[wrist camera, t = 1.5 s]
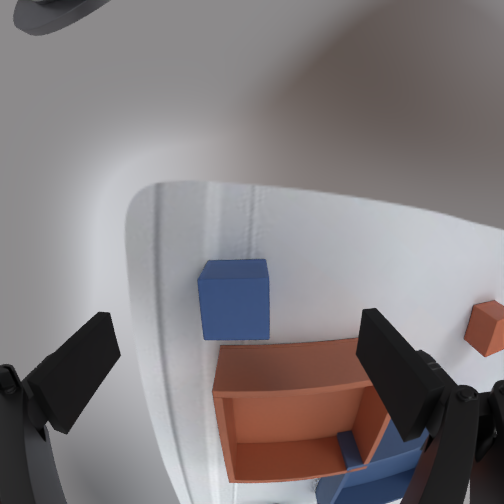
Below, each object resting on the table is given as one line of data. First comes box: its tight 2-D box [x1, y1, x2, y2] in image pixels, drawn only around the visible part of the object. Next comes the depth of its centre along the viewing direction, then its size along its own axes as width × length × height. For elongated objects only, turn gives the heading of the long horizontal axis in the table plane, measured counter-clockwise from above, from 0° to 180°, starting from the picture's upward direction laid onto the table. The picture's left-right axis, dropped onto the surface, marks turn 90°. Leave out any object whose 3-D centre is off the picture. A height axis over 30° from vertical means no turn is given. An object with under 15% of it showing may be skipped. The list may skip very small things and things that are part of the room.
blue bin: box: [315, 419, 429, 504], centre depth 23 cm, size 17×17×6 cm
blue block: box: [197, 259, 270, 340], centre depth 17 cm, size 4×4×4 cm
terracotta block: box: [464, 300, 504, 357], centre depth 19 cm, size 4×4×4 cm
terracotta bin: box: [212, 338, 391, 483], centre depth 19 cm, size 13×13×6 cm
